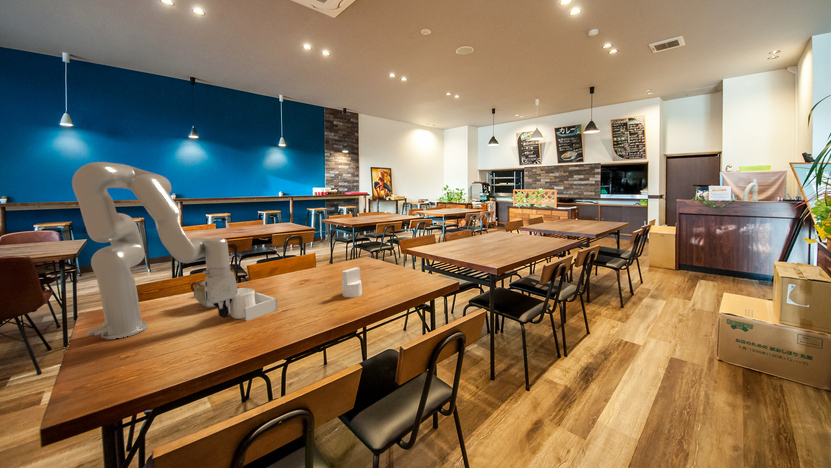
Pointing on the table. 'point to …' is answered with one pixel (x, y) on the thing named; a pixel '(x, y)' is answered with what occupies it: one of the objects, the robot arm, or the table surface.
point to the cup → (242, 302)
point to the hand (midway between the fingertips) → (224, 316)
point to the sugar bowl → (200, 293)
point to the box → (260, 306)
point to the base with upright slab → (351, 282)
